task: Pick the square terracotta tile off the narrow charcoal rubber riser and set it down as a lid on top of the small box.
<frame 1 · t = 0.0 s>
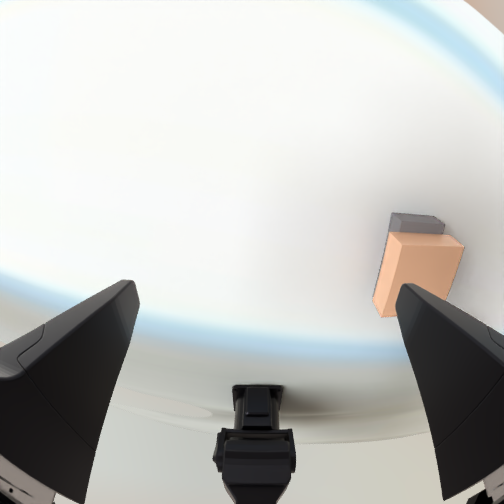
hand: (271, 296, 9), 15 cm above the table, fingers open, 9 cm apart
tile: (412, 268, 23), point 2 cm above the table, touching riser
riser: (404, 257, 24), on the table
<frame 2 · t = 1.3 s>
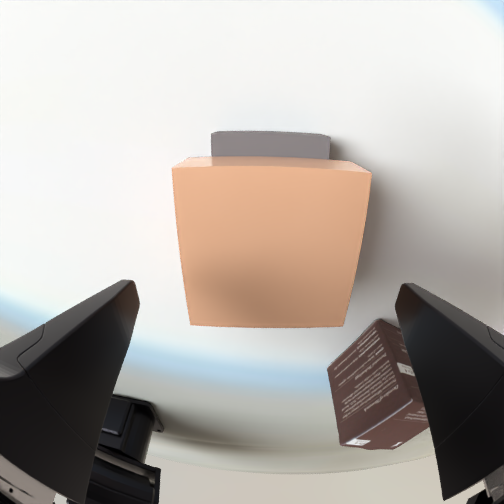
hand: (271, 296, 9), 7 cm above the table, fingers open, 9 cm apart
tile: (268, 232, 13), point 2 cm above the table, touching riser
riser: (267, 217, 15), on the table
box: (374, 352, 20), on the table
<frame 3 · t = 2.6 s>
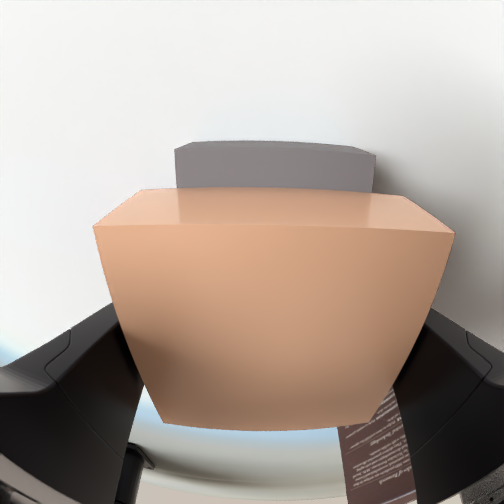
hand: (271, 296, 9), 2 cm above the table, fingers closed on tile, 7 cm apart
tile: (271, 303, 8), point 2 cm above the table, touching gripper, riser
riser: (269, 269, 10), on the table
box: (391, 404, 15), on the table
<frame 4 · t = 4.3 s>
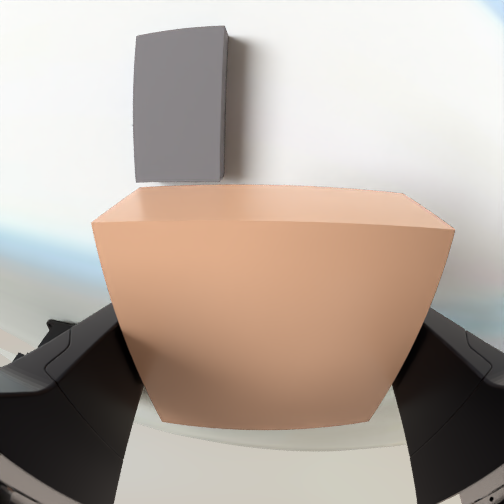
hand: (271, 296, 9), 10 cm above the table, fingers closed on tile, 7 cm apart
tile: (270, 301, 8), point 10 cm above the table, touching gripper
riser: (184, 104, 15), on the table
when the fingers open (8 cm above the table, at t = 6.0 s): tile stays where it is, resting on box.
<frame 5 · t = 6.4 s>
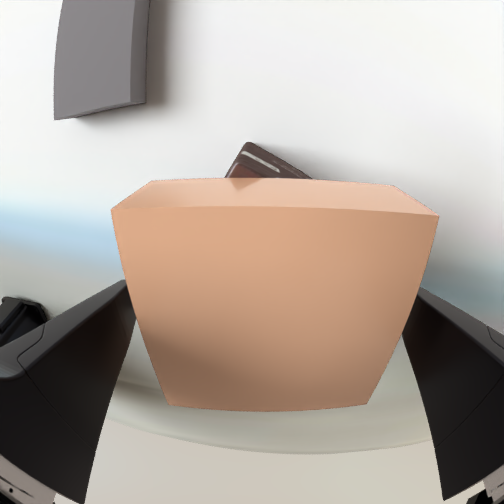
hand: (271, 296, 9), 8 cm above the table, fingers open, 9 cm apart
tile: (272, 287, 9), point 7 cm above the table, touching box
riser: (108, 40, 11), on the table
box: (266, 212, 16), on the table, touching tile
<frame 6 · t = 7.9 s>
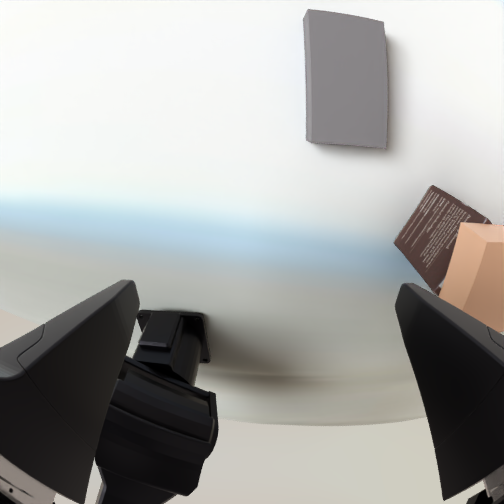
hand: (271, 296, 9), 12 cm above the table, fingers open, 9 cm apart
tile: (481, 273, 14), point 7 cm above the table, touching box
riser: (342, 79, 15), on the table
box: (430, 229, 20), on the table, touching tile
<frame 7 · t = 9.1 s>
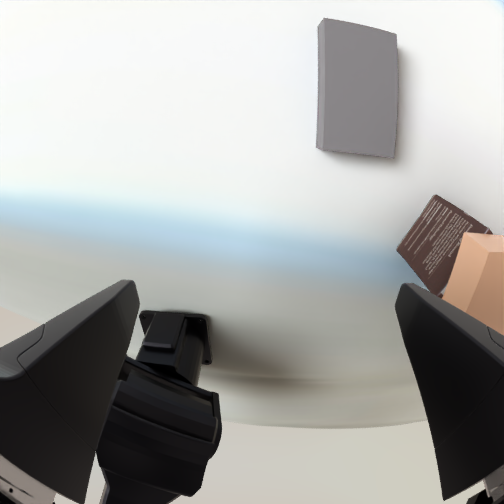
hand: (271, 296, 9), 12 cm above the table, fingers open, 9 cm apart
tile: (481, 281, 14), point 7 cm above the table, touching box
riser: (353, 88, 16), on the table
box: (432, 237, 21), on the table, touching tile
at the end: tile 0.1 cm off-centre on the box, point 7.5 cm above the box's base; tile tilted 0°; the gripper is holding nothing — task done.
